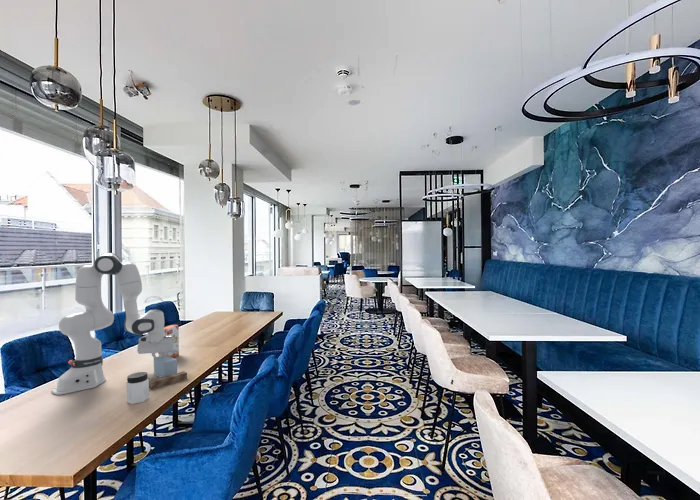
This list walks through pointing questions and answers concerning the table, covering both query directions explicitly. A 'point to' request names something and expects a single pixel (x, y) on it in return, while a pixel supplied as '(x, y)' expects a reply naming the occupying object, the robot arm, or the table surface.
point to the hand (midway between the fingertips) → (157, 360)
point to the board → (167, 380)
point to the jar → (137, 387)
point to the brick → (165, 366)
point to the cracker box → (172, 331)
